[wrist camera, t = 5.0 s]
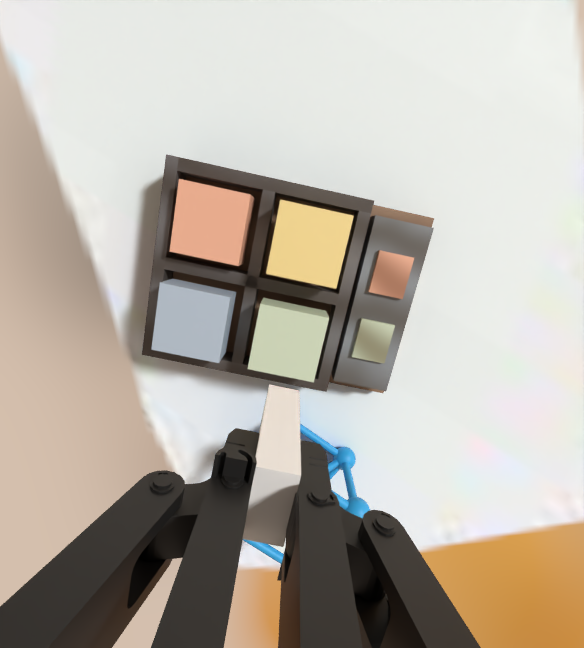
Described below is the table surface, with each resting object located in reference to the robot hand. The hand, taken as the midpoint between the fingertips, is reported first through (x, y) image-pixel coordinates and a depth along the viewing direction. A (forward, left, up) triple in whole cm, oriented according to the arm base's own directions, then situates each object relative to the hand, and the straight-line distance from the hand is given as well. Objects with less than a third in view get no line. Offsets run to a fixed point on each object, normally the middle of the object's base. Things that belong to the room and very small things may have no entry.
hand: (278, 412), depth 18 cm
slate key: (0, -8, -15) cm, 17 cm away
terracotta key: (-8, -8, -16) cm, 20 cm away
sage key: (0, 0, -15) cm, 15 cm away
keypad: (-4, -1, -19) cm, 19 cm away
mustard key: (-8, 0, -15) cm, 17 cm away
